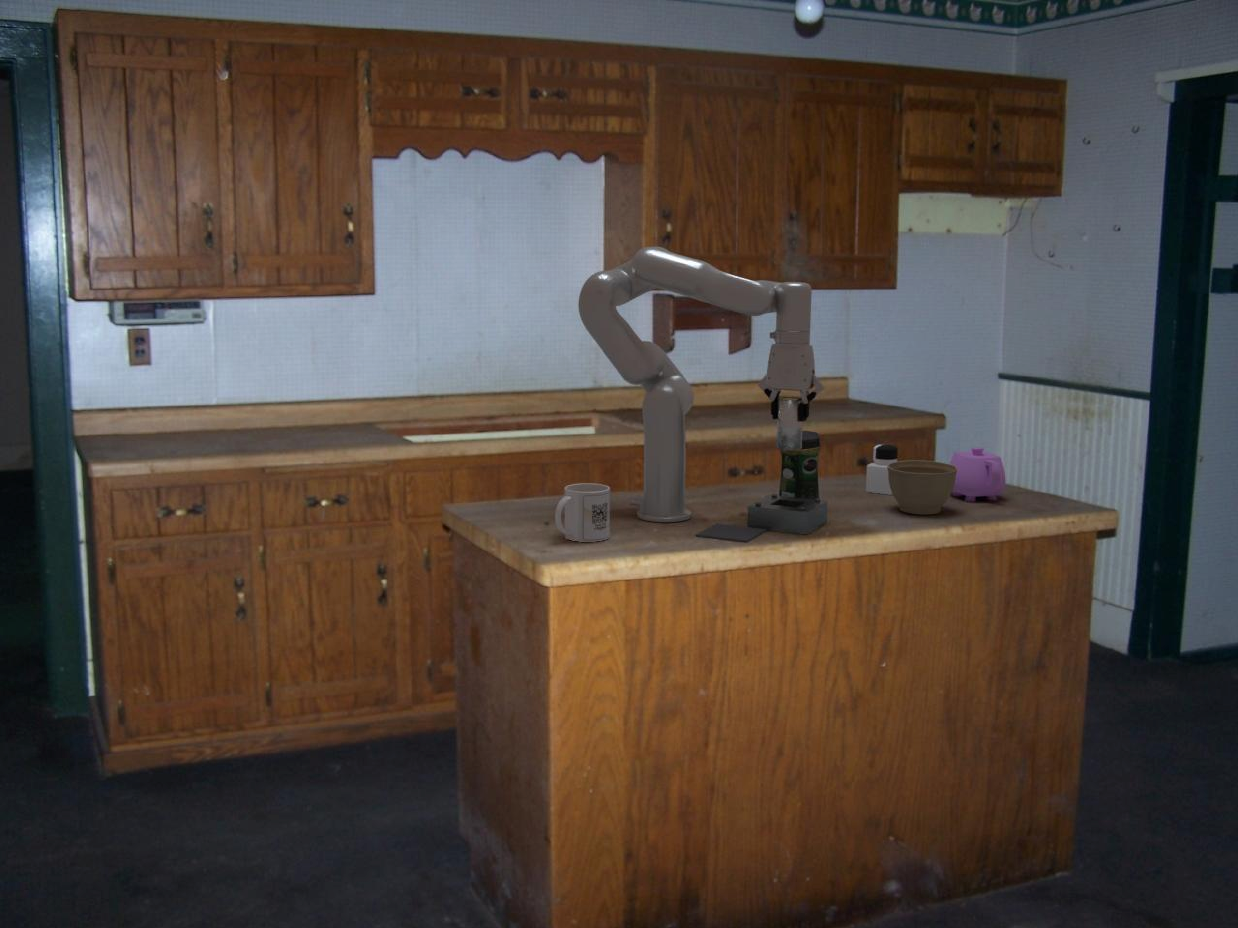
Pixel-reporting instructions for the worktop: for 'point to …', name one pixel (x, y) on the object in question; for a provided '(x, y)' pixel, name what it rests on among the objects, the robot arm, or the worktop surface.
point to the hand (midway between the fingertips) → (789, 418)
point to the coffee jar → (801, 469)
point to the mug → (585, 512)
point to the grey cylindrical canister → (789, 422)
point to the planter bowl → (921, 485)
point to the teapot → (978, 474)
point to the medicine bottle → (880, 469)
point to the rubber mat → (731, 532)
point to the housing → (787, 514)
